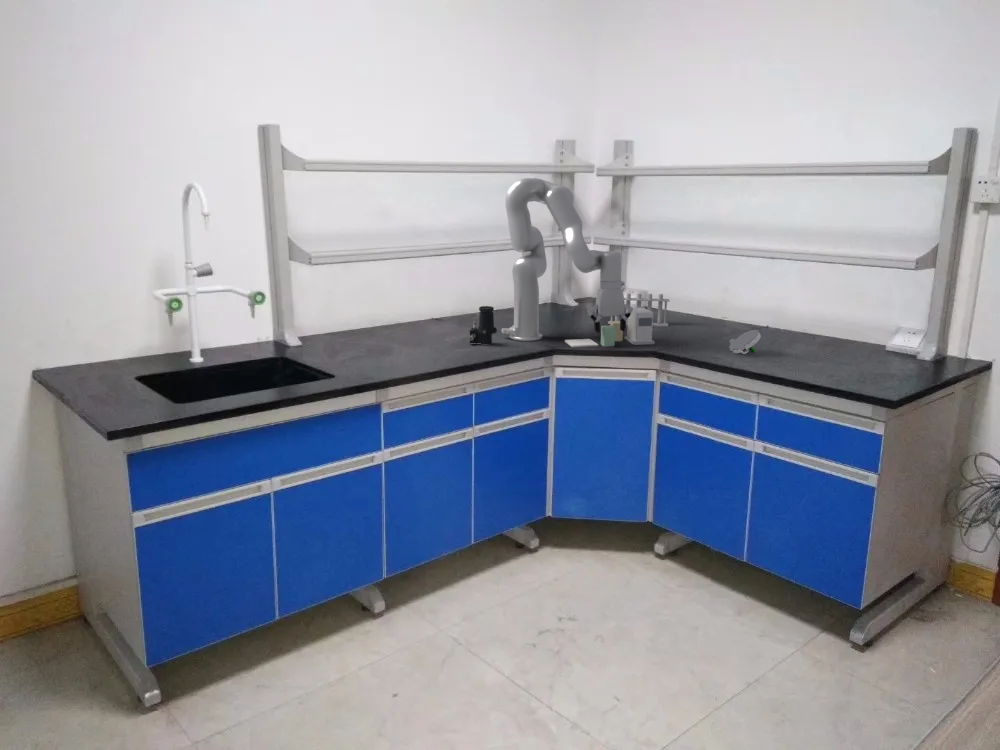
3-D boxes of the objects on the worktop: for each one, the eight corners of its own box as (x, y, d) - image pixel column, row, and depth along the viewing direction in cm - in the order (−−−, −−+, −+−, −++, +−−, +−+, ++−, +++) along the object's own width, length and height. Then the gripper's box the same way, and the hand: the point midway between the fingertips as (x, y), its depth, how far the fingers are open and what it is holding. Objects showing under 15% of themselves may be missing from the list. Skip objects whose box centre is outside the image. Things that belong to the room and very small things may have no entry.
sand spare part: (612, 341, 295) (613, 323, 293) (608, 339, 298) (609, 321, 297) (622, 340, 295) (623, 323, 293) (618, 338, 299) (619, 321, 297)
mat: (572, 347, 284) (572, 345, 284) (564, 341, 294) (564, 339, 294) (598, 346, 286) (598, 344, 286) (589, 340, 296) (589, 338, 296)
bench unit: (634, 344, 289) (635, 313, 285) (624, 338, 299) (625, 308, 296) (654, 344, 290) (656, 312, 287) (643, 337, 300) (645, 307, 297)
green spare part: (604, 346, 286) (604, 328, 284) (600, 344, 290) (601, 325, 288) (614, 346, 287) (615, 327, 285) (610, 343, 290) (611, 325, 289)
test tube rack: (608, 324, 327) (609, 293, 323) (608, 322, 331) (609, 292, 327) (668, 326, 323) (670, 295, 320) (667, 324, 327) (669, 293, 324)
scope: (472, 304, 291) (498, 305, 289) (472, 340, 295) (498, 341, 293) (468, 308, 283) (494, 309, 282) (468, 345, 287) (494, 346, 285)
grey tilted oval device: (723, 345, 284) (741, 320, 282) (740, 356, 285) (758, 331, 283) (735, 355, 270) (754, 328, 267) (753, 366, 271) (773, 340, 268)
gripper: (629, 283, 287) (628, 328, 292) (584, 285, 284) (584, 331, 288) (636, 285, 280) (635, 331, 284) (591, 288, 277) (590, 334, 281)
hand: (610, 331), depth 286 cm, fingers open, 9 cm apart
